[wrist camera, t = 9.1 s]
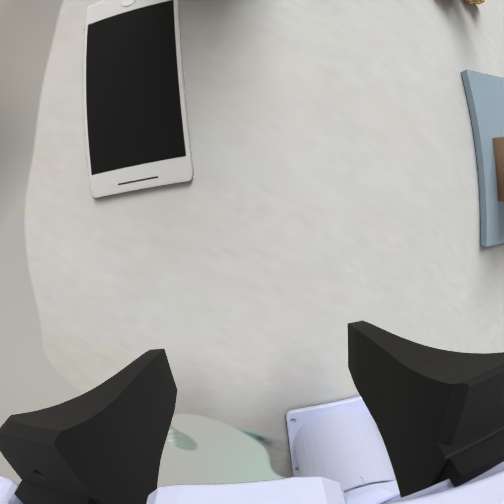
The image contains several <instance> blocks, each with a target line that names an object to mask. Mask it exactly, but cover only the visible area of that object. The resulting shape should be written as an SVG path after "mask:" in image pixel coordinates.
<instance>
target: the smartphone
mask: <svg viewBox="0 0 504 504" xmlns="http://www.w3.org/2000/svg"><path fill="white" fill-rule="evenodd" d="M83 102H84V126H85V141H86V153H87V164H88V173H89V182H90V189H91V193H92V196H93V197H94V198H98V197H103V196H108V195H113V194H118V193H123V192H128V191H133V190H139V189H144V188H150V187H155V186H161V185H167V184H173V183H180V182H186V181H190V180H192V178H193V163H192V155H191V146H190V137H189V128H188V119H187V109H186V98H185V88H184V76H183V64H182V52H181V38H180V23H179V5H178V0H104V1H101V2H98V3H95V4H93V5H90V6H89V7H88V9H87V12H86V22H85V36H84V59H83Z"/></svg>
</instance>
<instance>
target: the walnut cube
mask: <svg viewBox="0 0 504 504" xmlns="http://www.w3.org/2000/svg"><path fill="white" fill-rule="evenodd" d="M492 139H493V147H494V155H495V165H496V177H497V194H498V201H501V202H504V137H498V138H492Z"/></svg>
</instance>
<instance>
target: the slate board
mask: <svg viewBox="0 0 504 504" xmlns="http://www.w3.org/2000/svg"><path fill="white" fill-rule="evenodd" d="M461 75H462V79H463V83H464V87H465V91H466V96H467V101H468V105H469V111H470V116H471V122H472V128H473V134H474V141H475V148H476V157H477V166H478V177H479V192H480V218H481V241H480V245H482V246H485V247H488V246H493V245H498V244H502V243H504V202H501V201H498V194H497V177H496V165H495V155H494V147H493V139H492V138H498V137H504V78H501V77H497V76H492V75H488V74H484V73H479V72H474V71H469V70H465V71H463V72H461Z"/></svg>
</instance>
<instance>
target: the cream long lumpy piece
mask: <svg viewBox="0 0 504 504" xmlns="http://www.w3.org/2000/svg"><path fill="white" fill-rule="evenodd" d="M464 1H466V2H467V3H470V4H474V3H476V4H481V3H483V2H485V1H484V0H464Z"/></svg>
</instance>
